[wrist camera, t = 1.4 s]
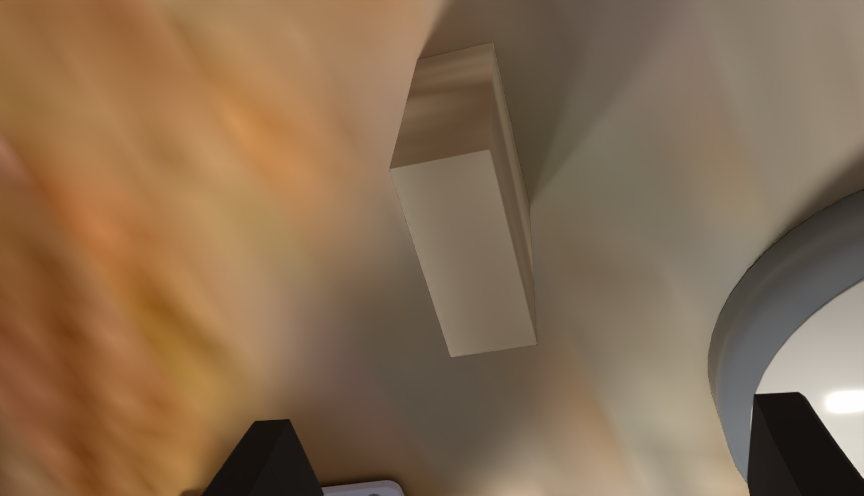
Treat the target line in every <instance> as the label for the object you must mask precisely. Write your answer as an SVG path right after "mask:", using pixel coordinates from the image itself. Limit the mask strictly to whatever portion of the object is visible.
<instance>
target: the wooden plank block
mask: <svg viewBox="0 0 864 496" xmlns="http://www.w3.org/2000/svg"><path fill="white" fill-rule="evenodd" d="M389 170H390V173H391V176H392V179H393V182H394V185H395V188H396V191H397V194H398V197H399V200H400V203H401V207H402V210H403V213H404V216H405V219H406V222H407V225H408V228H409V231H410V234H411V237H412V240H413V243H414V246H415V249H416V253H417V256H418V259H419V262H420V265H421V268H422V271H423V274H424V277H425V280H426V283H427V286H428V289H429V292H430V295H431V299H432V302H433V305H434V308H435V311H436V314H437V317H438V320H439V323H440V326H441V329H442V332H443V335H444V338H445V341H446V345H447V348H448V351H449V354H450V357H457V356H464V355H471V354H478V353H485V352H492V351H499V350H506V349H513V348H519V347H526V346H533V345H537V335H536V317H535V298H534V280H533V261H532V243H531V225H530V207H529V202H528V198H527V193H526V189H525V184H524V180H523V175H522V171H521V166H520V162H519V157H518V153H517V148H516V144H515V139H514V135H513V130H512V125H511V121H510V116H509V112H508V107H507V103H506V98H505V94H504V89H503V85H502V80H501V76H500V71H499V67H498V62H497V58H496V53H495V49H494V44H493V42H491V43H487V44H482V45H478V46H474V47H469V48H465V49H460V50H456V51H452V52H447V53H443V54H438V55H434V56H430V57H425V58H421V59H417V63H416V67H415V71H414V75H413V79H412V83H411V87H410V91H409V94H408V98H407V102H406V106H405V110H404V114H403V118H402V122H401V126H400V130H399V133H398V137H397V141H396V145H395V149H394V153H393V157H392V161H391V165H390V169H389Z"/></svg>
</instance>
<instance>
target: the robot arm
mask: <svg viewBox="0 0 864 496" xmlns="http://www.w3.org/2000/svg"><path fill="white" fill-rule="evenodd" d="M747 483H748V488H749V493H750V496H864V478H863V477H862V476H861V475H860V473H859V472H858V471H857V469H856V468H855V467H854V465H853V464H852V463H851V461H850V460H849V459H848V457H847V456H846V455H845V453H844V452H843V451H842V449H841V448H840V446H839V445H838V444H837V442H836V441H835V439H834V438H833V437H832V435H831V434H830V432H829V431H828V430H827V428H826V427H825V425H824V424H823V422H822V421H821V419H820V418H819V416H818V415H817V413H816V412H815V410H814V409H813V407H812V406H811V404H810V403H809V401H808V400H807V398H806V397H805V396H804V395H802V394H801V393H800V392H784V393H765V394H754V397H753V409H752V422H751V434H750V446H749V459H748V471H747ZM201 496H404V494H403V492H402V489H401V487H400V486H399V485H398V484H397V483H395V482H393V481H390V480H383V481H375V482H366V483H357V484H348V485H340V486H331V487H322V488H321V486H320V484H319V482H318V480H317V478H316V476H315V473H314V471H313V469H312V467H311V465H310V463H309V460H308V458H307V456H306V454H305V452H304V450H303V447H302V445H301V443H300V441H299V439H298V437H297V434H296V432H295V430H294V428H293V426H292V424H291V421H290V419H284V420H266V421H255V422H254V423H253V424H252V425H251V427H250V428H249V429H248V431H247V432H246V433H245V435H244V436H243V438H242V439H241V440H240V442H239V443H238V445H237V446H236V447H235V449H234V450H233V452H232V453H231V454H230V456H229V457H228V459H227V460H226V462H225V463H224V464H223V466H222V467H221V469H220V470H219V471H218V473H217V474H216V476H215V477H214V478H213V480H212V481H211V483H210V484H209V485H208V487H207V488H206V490H205V491H204V492H203V494H202V495H201Z"/></svg>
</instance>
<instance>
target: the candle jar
mask: <svg viewBox="0 0 864 496" xmlns="http://www.w3.org/2000/svg"><path fill="white" fill-rule="evenodd" d="M708 378H709V383H710V389H711V394H712V397H713V400H714V403H715V406H716V410H717V413H718V416H719V419H720V422H721V425H722V429H723V432H724V435H725V438H726V441H727V444H728V448H729V450H730V453H731V456H732V458H733V461H734V463H735V466H736V467H737V469H738V471H739V472H740V474H741V475H742V477H743V478H744V480H745V482H746V483H747V471H748V459H749V446H750V434H751V422H752V409H753V397H754V394H765V393H784V392H800V393H801V394H802V395H804V396H805V397H806V398H807V400H808V401H809V403H810V404H811V406H812V407H813V409H814V410H815V412H816V413H817V415H818V416H819V418H820V419H821V421H822V422H823V424H824V425H825V427H826V428H827V430H828V431H829V432H830V434H831V435H832V437H833V438H834V439H835V441H836V442H837V444H838V445H839V446H840V448H841V449H842V451H843V452H844V453H845V455H846V456H847V457H848V459H849V460H850V461H851V463H852V464H853V465H854V467H855V468H856V469H857V471H858V472H859V473H860V475H861V476H862V477H863V478H864V190H862V191H859V192H857V193H855V194H853V195H850V196H848V197H846V198H844V199H842V200H840V201H838V202H836V203H835V204H833V205H831V206H829V207H827V208H825V209H824V210H822V211H820V212H818V213H816V214H815V215H813V216H812V217H810V218H809V219H807V220H806V221H805V222H803V223H802V224H800V225H799V226H797V227H796V228H794V229H793V230H791V231H790V232H789V233H787V234H786V235H785V236H784V237H783V238H782V239H780V240H779V241H778V242H777V243H776V244H774V245H773V246H772V247H771V248H770V249H769V250H767V251H766V252H765V253H764V254H763V255H762V256H761V258H760V259H759V260H758V261H757V262H756V263H755V264H754V265H753V266H752V267H751V268H750V269H749V270H748V271H747V272H746V274H745V275H744V276H743V278H742V279H741V281H740V282H739V283H738V285H737V286H736V287H735V289H734V290H733V291H732V293H731V294H730V296H729V298H728V300H727V302H726V304H725V305H724V307H723V309H722V311H721V313H720V315H719V317H718V320H717V323H716V326H715V328H714V331H713V334H712V338H711V343H710V348H709V354H708ZM747 484H748V483H747Z"/></svg>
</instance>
